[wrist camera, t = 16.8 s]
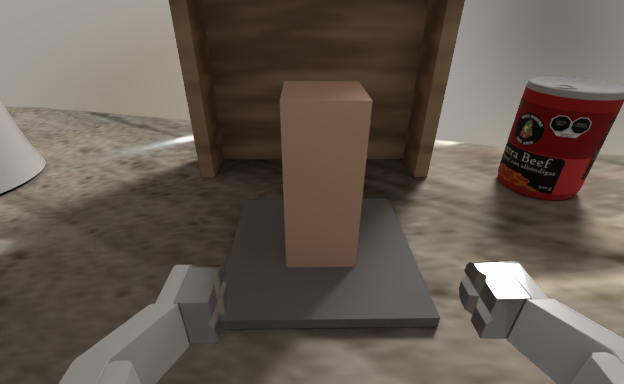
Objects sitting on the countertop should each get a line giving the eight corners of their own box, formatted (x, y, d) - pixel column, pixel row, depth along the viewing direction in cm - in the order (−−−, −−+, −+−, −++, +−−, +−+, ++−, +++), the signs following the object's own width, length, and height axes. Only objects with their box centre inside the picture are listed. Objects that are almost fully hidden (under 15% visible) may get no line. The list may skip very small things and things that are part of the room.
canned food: (481, 173, 39) (510, 77, 33) (535, 166, 40) (571, 74, 35) (534, 207, 32) (581, 95, 27) (595, 197, 34) (652, 90, 29)
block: (355, 266, 24) (372, 100, 17) (286, 267, 23) (279, 100, 17) (347, 225, 28) (358, 81, 22) (289, 226, 28) (284, 80, 22)
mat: (437, 326, 20) (440, 317, 20) (211, 329, 20) (208, 320, 19) (387, 205, 32) (388, 198, 32) (245, 205, 32) (245, 198, 31)
